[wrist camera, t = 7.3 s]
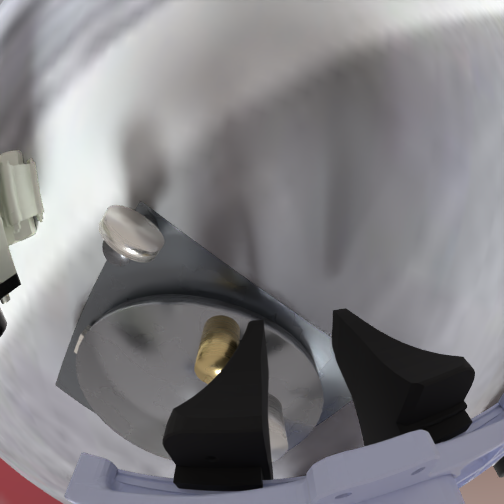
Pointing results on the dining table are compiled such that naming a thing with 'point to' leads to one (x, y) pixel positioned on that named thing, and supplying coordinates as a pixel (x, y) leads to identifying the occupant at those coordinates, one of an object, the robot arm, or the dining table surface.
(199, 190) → the dining table surface
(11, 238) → the pneumatic valve
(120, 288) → the base plate
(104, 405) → the turntable
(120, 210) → the silver oval knob
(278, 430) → the cover
